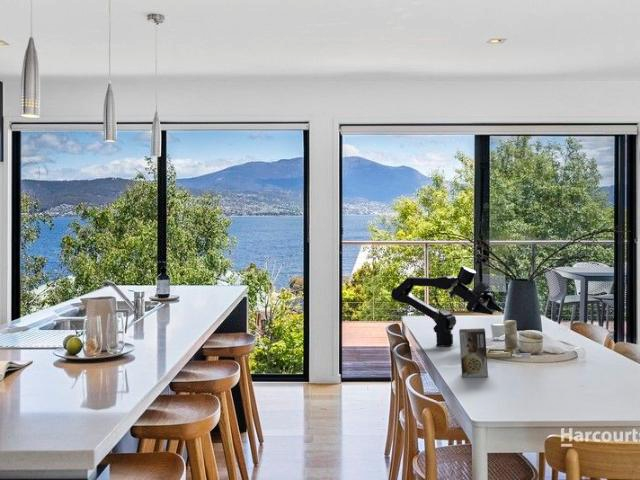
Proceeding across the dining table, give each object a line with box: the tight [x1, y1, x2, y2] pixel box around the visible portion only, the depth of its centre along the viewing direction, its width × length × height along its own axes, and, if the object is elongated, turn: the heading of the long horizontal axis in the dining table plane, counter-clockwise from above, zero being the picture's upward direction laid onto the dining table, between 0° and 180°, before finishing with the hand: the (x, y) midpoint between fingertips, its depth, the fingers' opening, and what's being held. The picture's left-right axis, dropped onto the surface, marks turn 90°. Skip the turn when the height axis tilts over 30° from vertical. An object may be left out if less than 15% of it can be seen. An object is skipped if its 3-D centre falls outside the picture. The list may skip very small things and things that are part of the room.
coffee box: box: [458, 327, 489, 378], centre depth 237 cm, size 9×6×16 cm
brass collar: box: [486, 349, 513, 359], centre depth 266 cm, size 10×10×2 cm
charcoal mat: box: [487, 352, 532, 360], centre depth 271 cm, size 24×24×1 cm
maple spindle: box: [503, 319, 518, 350], centre depth 274 cm, size 6×6×12 cm
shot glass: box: [490, 322, 505, 339], centre depth 305 cm, size 7×7×7 cm
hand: (497, 312), depth 282 cm, fingers open, 9 cm apart
